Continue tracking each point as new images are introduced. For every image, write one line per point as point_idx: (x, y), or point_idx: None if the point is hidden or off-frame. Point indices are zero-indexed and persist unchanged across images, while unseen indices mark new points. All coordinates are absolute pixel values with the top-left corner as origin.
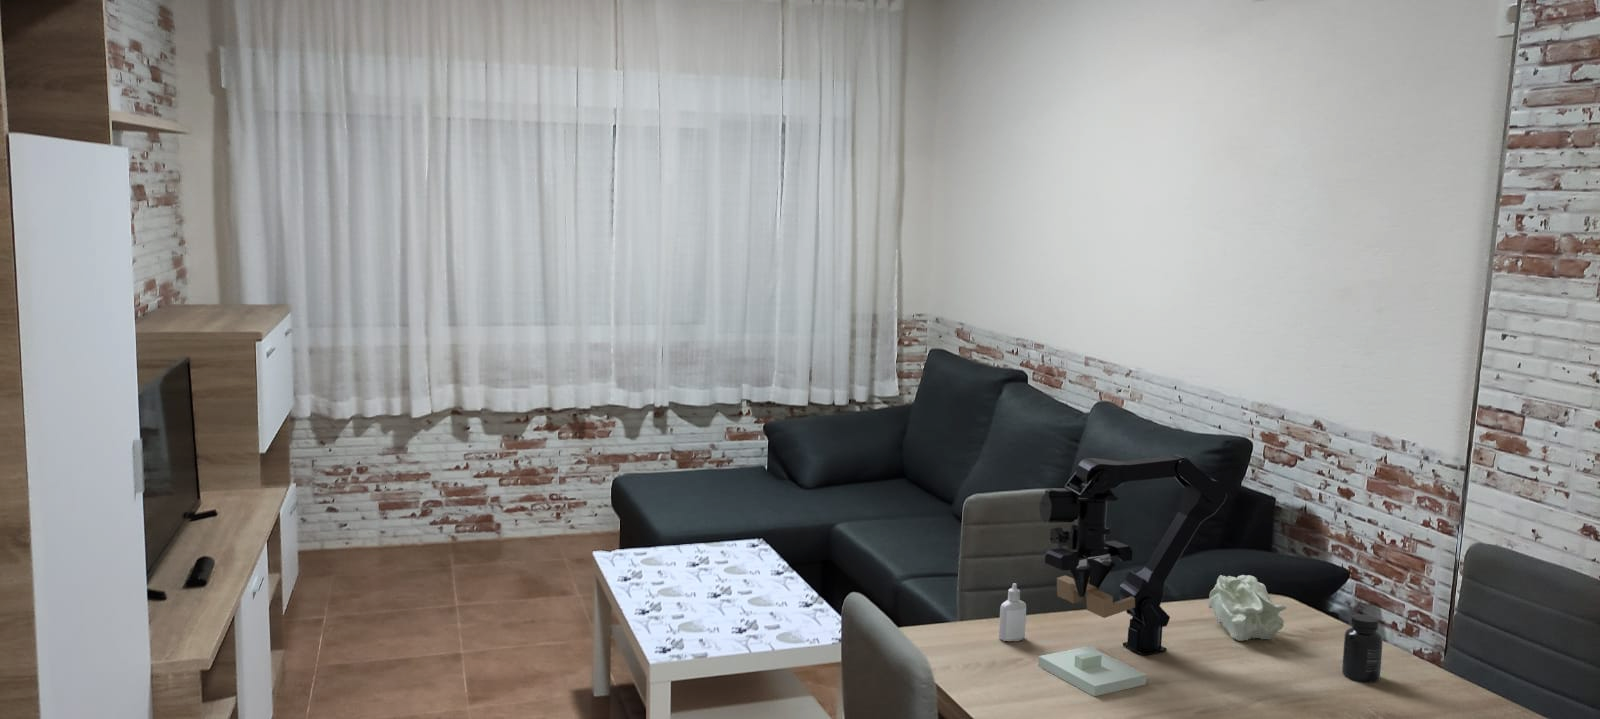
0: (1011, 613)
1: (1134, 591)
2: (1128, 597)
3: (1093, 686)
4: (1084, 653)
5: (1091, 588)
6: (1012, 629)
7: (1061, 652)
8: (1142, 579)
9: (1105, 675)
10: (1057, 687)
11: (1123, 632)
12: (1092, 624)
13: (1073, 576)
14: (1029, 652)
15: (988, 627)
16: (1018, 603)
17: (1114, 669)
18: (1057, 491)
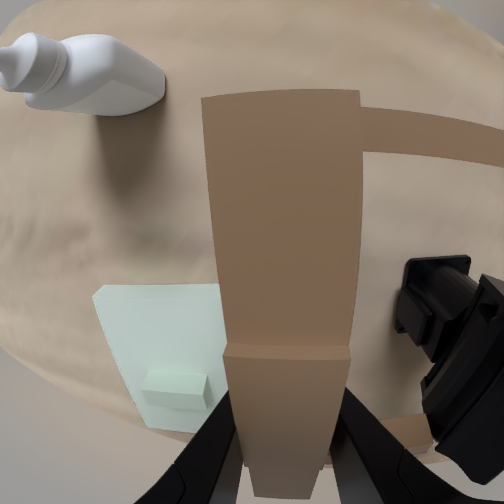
0: (53, 110)
1: (459, 443)
2: (419, 446)
3: (146, 424)
4: (218, 331)
5: (284, 465)
6: (93, 113)
7: (157, 302)
8: (484, 483)
9: (190, 416)
10: (105, 370)
11: (472, 183)
12: (444, 93)
13: (152, 492)
14: (120, 201)
15: (127, 5)
16: (54, 96)
17: None
18: None
